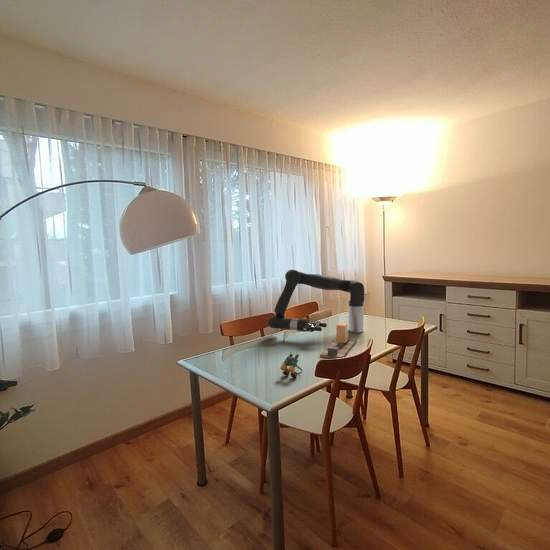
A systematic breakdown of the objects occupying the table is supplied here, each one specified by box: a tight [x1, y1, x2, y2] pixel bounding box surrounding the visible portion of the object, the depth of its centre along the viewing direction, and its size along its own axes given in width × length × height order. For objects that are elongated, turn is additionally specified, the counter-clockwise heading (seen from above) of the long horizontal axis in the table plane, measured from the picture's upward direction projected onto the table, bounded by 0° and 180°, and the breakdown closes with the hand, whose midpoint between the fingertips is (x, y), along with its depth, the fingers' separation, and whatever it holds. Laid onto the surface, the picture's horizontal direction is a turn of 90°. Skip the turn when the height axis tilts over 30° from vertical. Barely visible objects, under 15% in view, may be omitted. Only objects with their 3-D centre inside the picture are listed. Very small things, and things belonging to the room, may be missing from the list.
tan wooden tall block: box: [335, 322, 349, 343], centre depth 186 cm, size 5×5×10 cm
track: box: [319, 335, 357, 359], centre depth 182 cm, size 30×12×4 cm, turn 152°
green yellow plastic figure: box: [279, 352, 303, 378], centre depth 150 cm, size 9×9×10 cm
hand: (324, 327), depth 192 cm, fingers open, 8 cm apart
